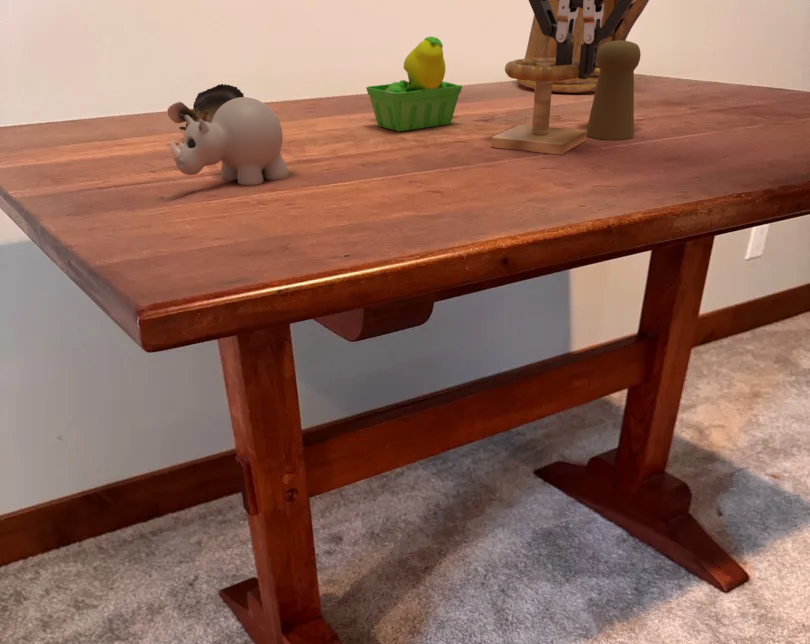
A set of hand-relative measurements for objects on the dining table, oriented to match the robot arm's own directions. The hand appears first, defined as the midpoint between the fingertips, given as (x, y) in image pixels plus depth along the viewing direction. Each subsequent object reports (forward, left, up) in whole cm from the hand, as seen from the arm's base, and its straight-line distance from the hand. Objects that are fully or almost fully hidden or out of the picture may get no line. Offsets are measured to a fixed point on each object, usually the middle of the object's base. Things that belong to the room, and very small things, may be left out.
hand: (574, 77), depth 93 cm
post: (+4, 0, -8) cm, 9 cm away
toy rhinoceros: (+24, +34, -8) cm, 42 cm away
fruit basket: (+23, -3, -8) cm, 24 cm away
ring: (+4, 0, +1) cm, 4 cm away
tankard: (+14, -45, -8) cm, 48 cm away
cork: (-2, -9, -8) cm, 12 cm away
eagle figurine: (+42, +17, -8) cm, 46 cm away
